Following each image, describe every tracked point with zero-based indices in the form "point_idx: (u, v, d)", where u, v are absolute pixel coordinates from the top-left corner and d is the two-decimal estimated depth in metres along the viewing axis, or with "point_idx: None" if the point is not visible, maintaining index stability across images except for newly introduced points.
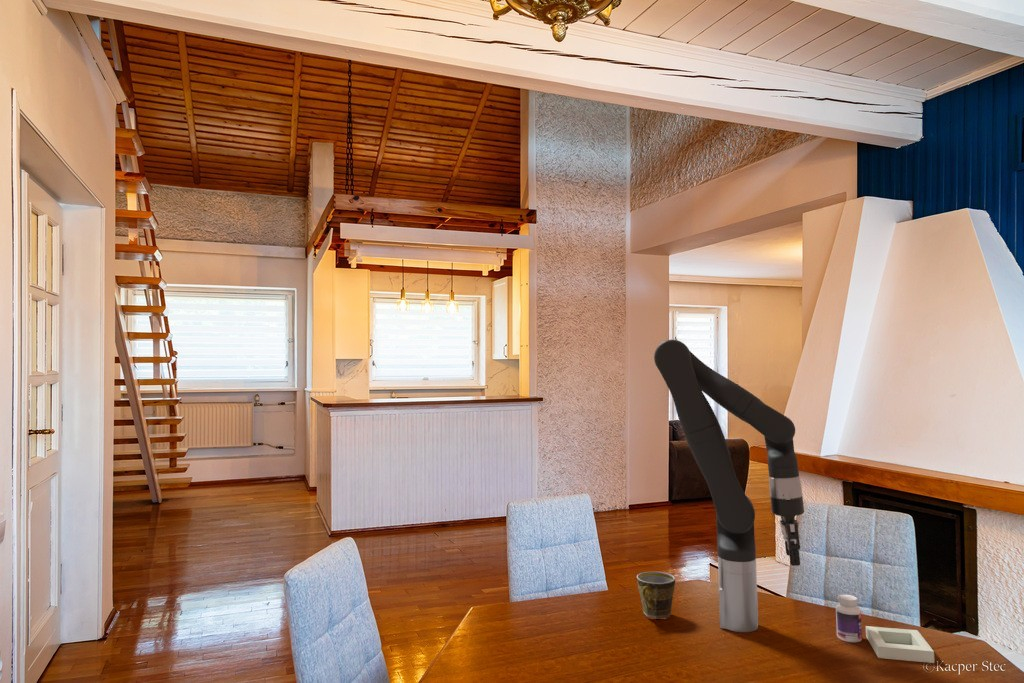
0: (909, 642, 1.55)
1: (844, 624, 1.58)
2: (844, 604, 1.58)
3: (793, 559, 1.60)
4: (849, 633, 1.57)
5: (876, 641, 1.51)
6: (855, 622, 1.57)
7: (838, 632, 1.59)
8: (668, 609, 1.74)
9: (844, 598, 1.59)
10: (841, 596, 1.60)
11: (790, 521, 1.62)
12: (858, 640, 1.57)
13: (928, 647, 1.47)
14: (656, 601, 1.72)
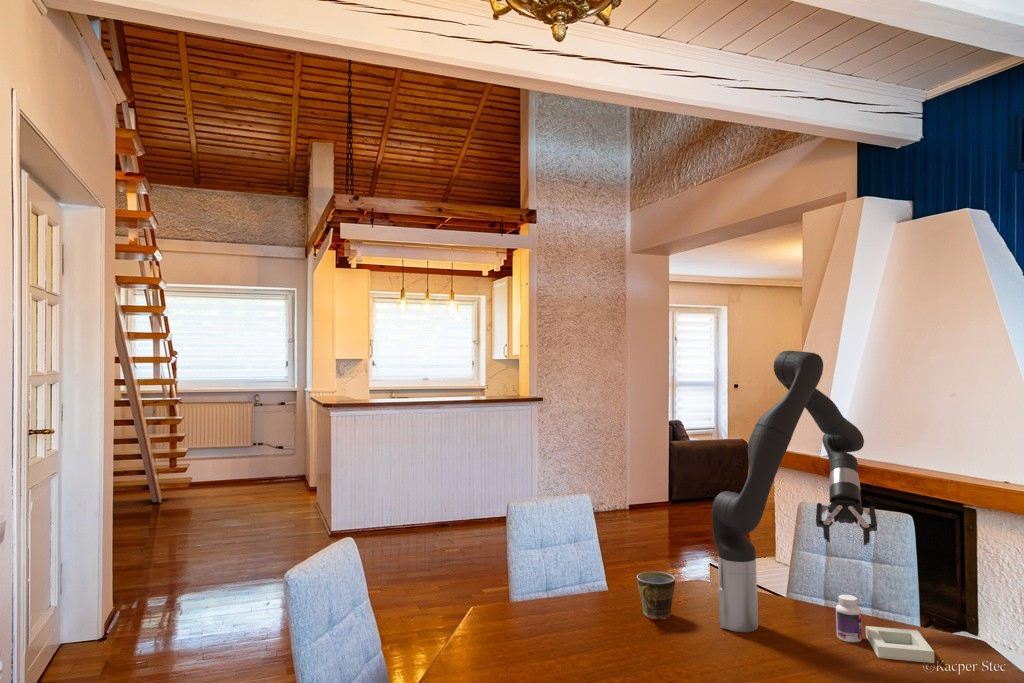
0: (909, 642, 1.55)
1: (844, 624, 1.57)
2: (844, 604, 1.58)
3: None
4: (849, 633, 1.57)
5: (876, 641, 1.51)
6: (855, 622, 1.57)
7: (838, 632, 1.59)
8: (668, 609, 1.74)
9: (844, 598, 1.59)
10: (841, 596, 1.60)
11: None
12: (858, 640, 1.57)
13: (928, 647, 1.47)
14: (656, 601, 1.72)
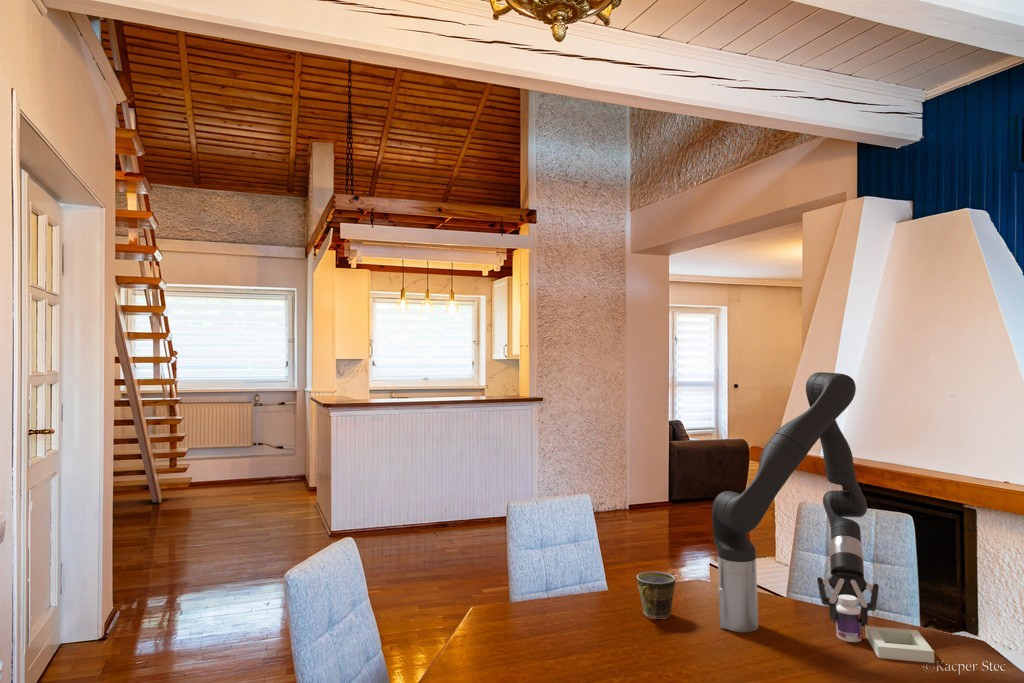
0: (909, 642, 1.55)
1: (844, 624, 1.58)
2: (844, 603, 1.58)
3: None
4: (849, 633, 1.57)
5: (876, 641, 1.51)
6: (855, 622, 1.57)
7: (838, 632, 1.59)
8: (668, 609, 1.74)
9: (844, 598, 1.59)
10: (841, 596, 1.60)
11: None
12: (858, 640, 1.57)
13: (928, 647, 1.47)
14: (656, 601, 1.72)
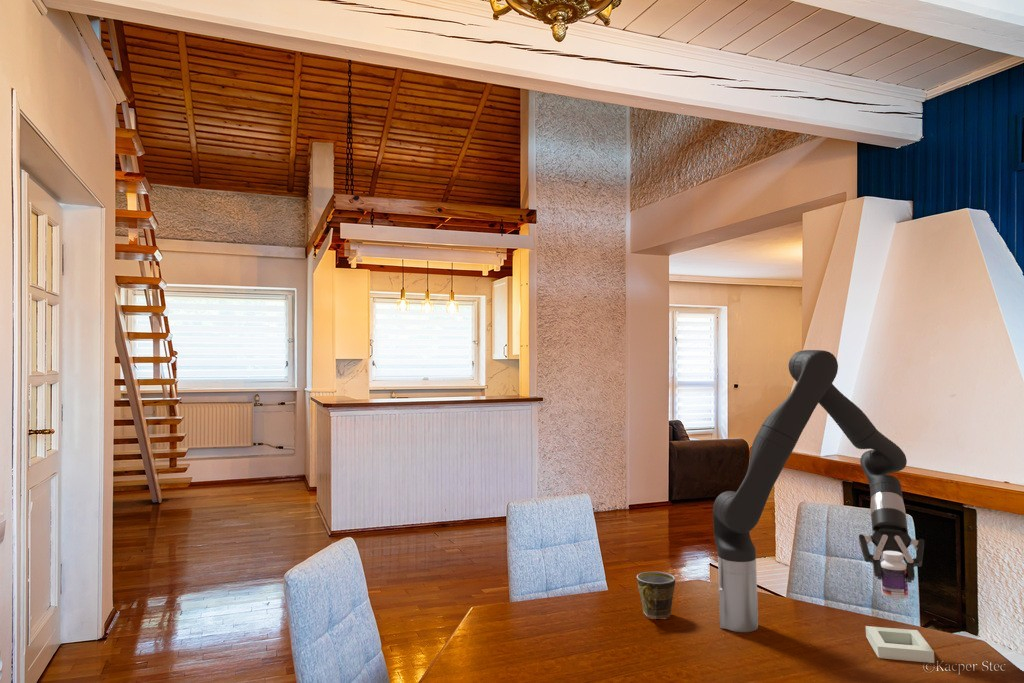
0: (909, 642, 1.55)
1: (889, 580, 1.52)
2: (889, 559, 1.53)
3: None
4: (895, 589, 1.51)
5: (876, 641, 1.51)
6: (902, 577, 1.51)
7: (883, 589, 1.54)
8: (668, 609, 1.74)
9: (889, 553, 1.53)
10: (885, 552, 1.55)
11: None
12: (904, 596, 1.51)
13: (928, 647, 1.47)
14: (656, 601, 1.72)
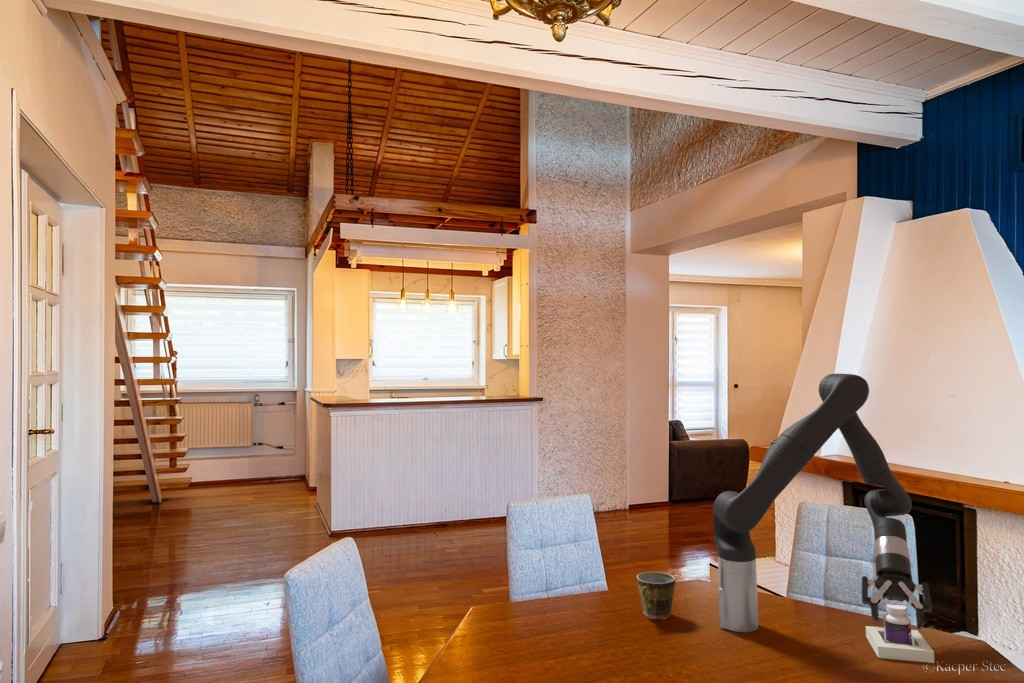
0: None
1: (893, 634, 1.51)
2: (893, 613, 1.52)
3: None
4: (899, 643, 1.50)
5: (876, 641, 1.51)
6: (905, 632, 1.50)
7: (886, 642, 1.53)
8: (668, 609, 1.74)
9: (893, 607, 1.52)
10: (889, 605, 1.54)
11: None
12: None
13: (928, 647, 1.47)
14: (656, 601, 1.72)
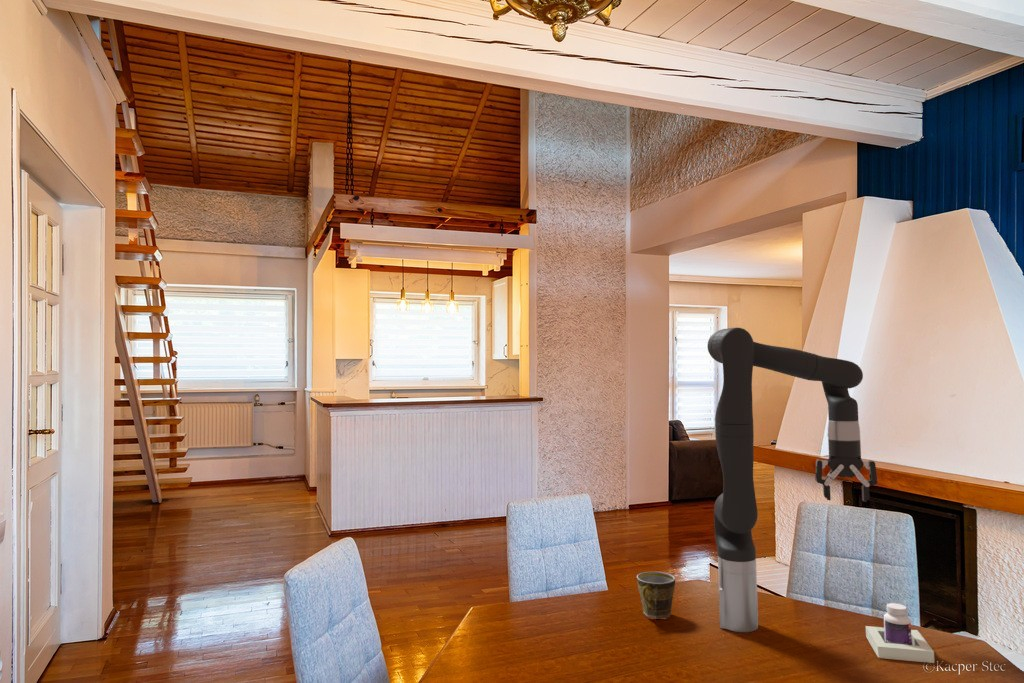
0: None
1: (893, 634, 1.51)
2: (893, 613, 1.52)
3: None
4: (899, 643, 1.50)
5: (876, 641, 1.51)
6: (905, 632, 1.50)
7: (886, 642, 1.53)
8: (668, 609, 1.74)
9: (893, 607, 1.53)
10: (889, 605, 1.54)
11: None
12: None
13: (928, 647, 1.47)
14: (656, 601, 1.72)
